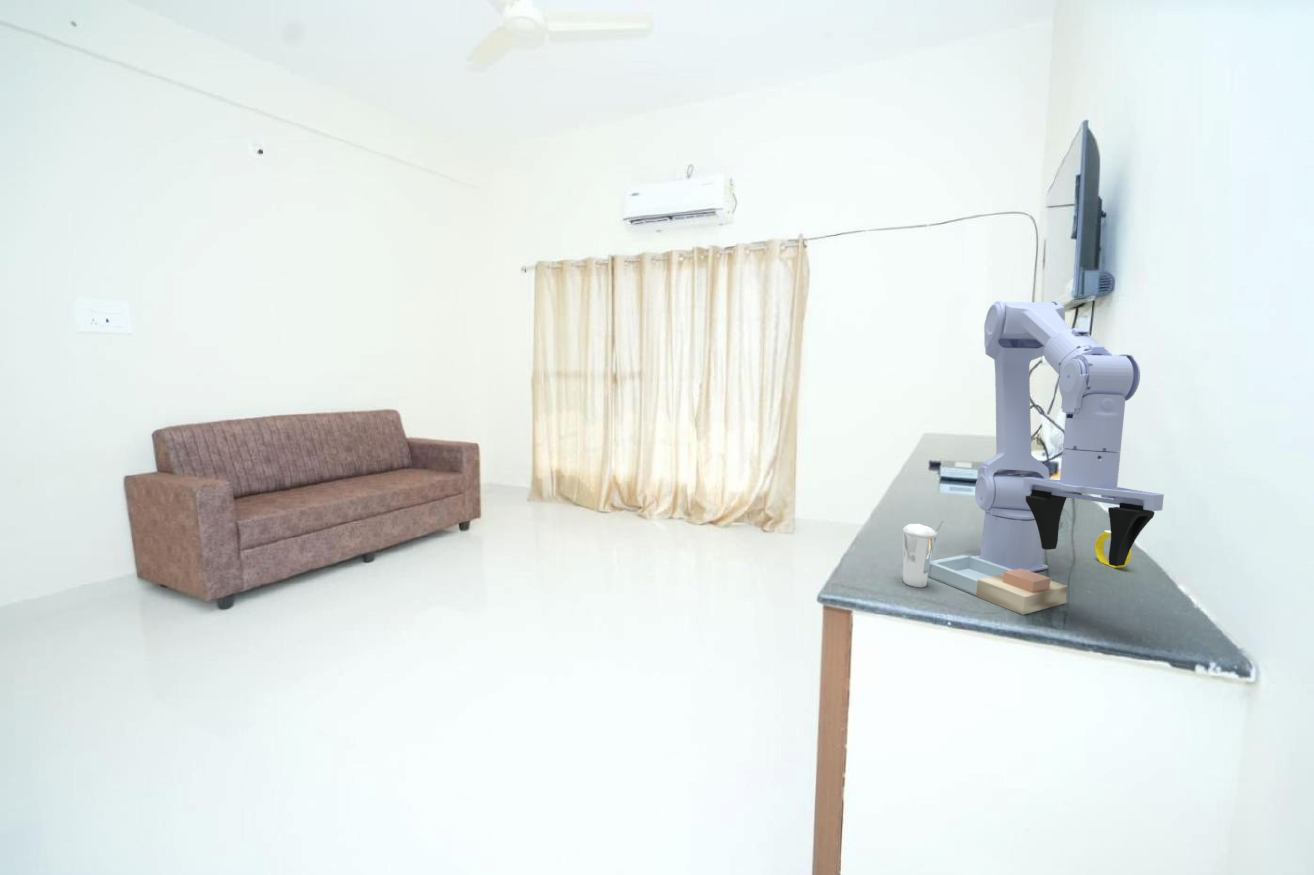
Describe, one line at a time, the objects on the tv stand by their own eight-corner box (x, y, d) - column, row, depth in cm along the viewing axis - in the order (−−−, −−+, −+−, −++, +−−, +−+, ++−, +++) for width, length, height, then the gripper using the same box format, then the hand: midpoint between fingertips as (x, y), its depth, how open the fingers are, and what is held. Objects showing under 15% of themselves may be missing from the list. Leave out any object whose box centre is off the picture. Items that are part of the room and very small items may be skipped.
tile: (1019, 578, 79) (1021, 568, 79) (1049, 588, 76) (1050, 578, 75) (1002, 582, 77) (1003, 572, 77) (1032, 592, 74) (1033, 582, 74)
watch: (1089, 560, 97) (1091, 527, 96) (1104, 561, 97) (1107, 528, 96) (1117, 571, 91) (1120, 535, 90) (1134, 571, 91) (1137, 536, 90)
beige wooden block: (1018, 586, 83) (1020, 570, 82) (1065, 603, 77) (1067, 586, 77) (976, 596, 78) (977, 579, 78) (1022, 614, 73) (1024, 597, 72)
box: (966, 567, 90) (967, 554, 90) (1018, 586, 83) (1020, 572, 82) (924, 575, 86) (925, 561, 86) (976, 596, 78) (977, 581, 78)
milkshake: (941, 591, 80) (948, 525, 78) (902, 587, 81) (908, 522, 79) (932, 580, 84) (938, 517, 83) (895, 576, 85) (900, 514, 84)
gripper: (1012, 445, 74) (1004, 544, 74) (1145, 456, 60) (1134, 576, 61) (1043, 445, 77) (1035, 541, 77) (1176, 456, 64) (1165, 570, 64)
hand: (1081, 556), depth 70 cm, fingers open, 7 cm apart
